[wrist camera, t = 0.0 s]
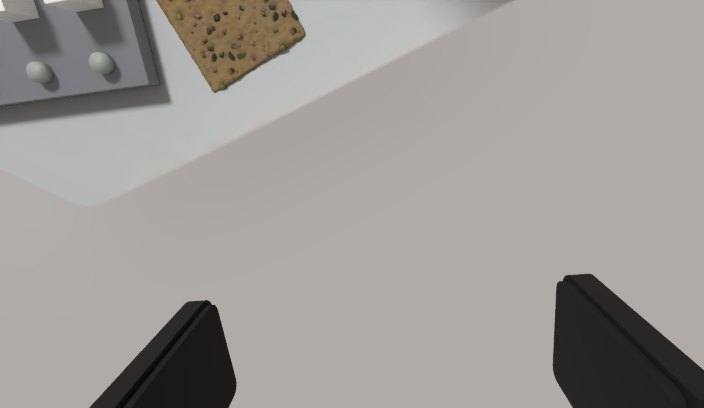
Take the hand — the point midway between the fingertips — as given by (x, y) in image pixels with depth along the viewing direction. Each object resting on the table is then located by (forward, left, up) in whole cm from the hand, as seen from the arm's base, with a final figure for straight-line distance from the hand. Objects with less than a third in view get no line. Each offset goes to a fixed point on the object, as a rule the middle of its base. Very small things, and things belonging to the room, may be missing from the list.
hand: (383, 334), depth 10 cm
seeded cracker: (-16, -14, -32) cm, 38 cm away
